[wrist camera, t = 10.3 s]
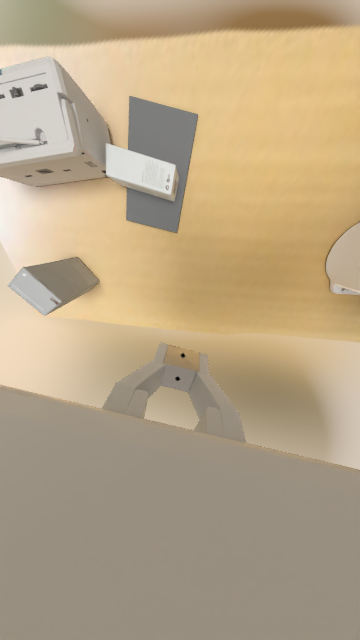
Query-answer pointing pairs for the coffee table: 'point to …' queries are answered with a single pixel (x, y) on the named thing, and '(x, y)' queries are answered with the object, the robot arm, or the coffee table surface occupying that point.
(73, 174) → the stereo radio cassette player
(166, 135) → the mat
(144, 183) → the skincare box
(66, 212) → the coffee table surface
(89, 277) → the skincare box
